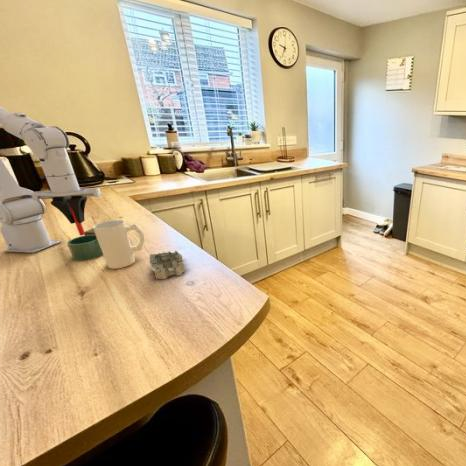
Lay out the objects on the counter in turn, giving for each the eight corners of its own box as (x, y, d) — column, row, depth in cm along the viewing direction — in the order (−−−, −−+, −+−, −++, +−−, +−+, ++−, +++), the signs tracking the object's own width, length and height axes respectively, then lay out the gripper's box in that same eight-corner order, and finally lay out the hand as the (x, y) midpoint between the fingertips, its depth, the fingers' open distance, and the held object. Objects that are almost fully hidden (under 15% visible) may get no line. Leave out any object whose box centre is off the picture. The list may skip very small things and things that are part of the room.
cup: (66, 259, 83) (60, 244, 81) (89, 248, 90) (84, 234, 88) (90, 261, 83) (84, 245, 81) (111, 250, 89) (106, 235, 88)
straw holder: (86, 240, 96) (83, 232, 95) (104, 232, 102) (102, 224, 101) (106, 241, 95) (103, 233, 94) (123, 233, 102) (120, 225, 101)
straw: (78, 235, 84) (66, 202, 80) (83, 233, 85) (70, 200, 81) (82, 235, 83) (69, 202, 79) (86, 234, 84) (74, 201, 81)
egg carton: (186, 274, 77) (183, 260, 75) (153, 282, 73) (149, 268, 71) (182, 258, 85) (179, 245, 83) (151, 265, 81) (148, 252, 79)
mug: (107, 271, 77) (92, 230, 73) (106, 262, 82) (92, 223, 77) (151, 261, 83) (140, 222, 79) (148, 253, 88) (137, 215, 83)
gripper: (99, 171, 83) (113, 215, 88) (36, 173, 79) (54, 219, 84) (87, 175, 77) (103, 223, 82) (17, 178, 72) (39, 228, 78)
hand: (77, 222), depth 82 cm, fingers closed on straw, 1 cm apart
